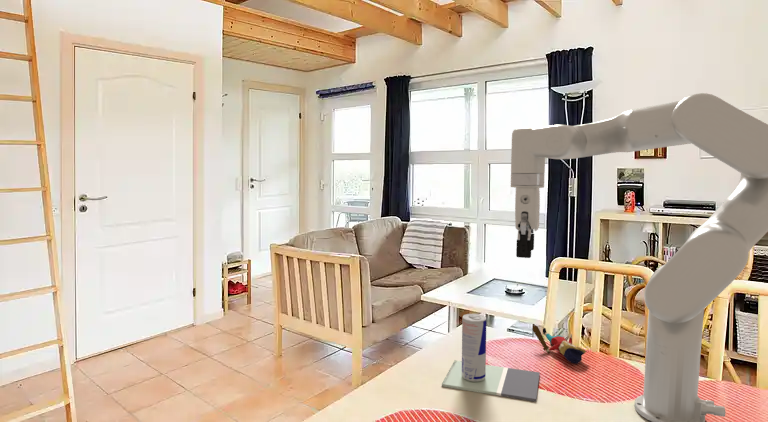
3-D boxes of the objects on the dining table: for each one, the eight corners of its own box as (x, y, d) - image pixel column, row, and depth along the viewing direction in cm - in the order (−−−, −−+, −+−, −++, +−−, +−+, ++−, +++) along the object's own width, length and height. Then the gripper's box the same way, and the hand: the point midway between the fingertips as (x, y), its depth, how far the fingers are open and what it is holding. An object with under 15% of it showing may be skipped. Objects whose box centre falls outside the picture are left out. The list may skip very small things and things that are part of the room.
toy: (560, 322, 139) (592, 344, 125) (557, 343, 140) (589, 367, 126) (530, 322, 137) (559, 344, 123) (527, 344, 138) (556, 368, 124)
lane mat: (539, 374, 120) (539, 372, 119) (536, 401, 106) (536, 399, 106) (454, 362, 127) (454, 360, 127) (441, 386, 114) (441, 383, 114)
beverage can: (485, 383, 113) (487, 321, 112) (461, 382, 114) (462, 320, 113) (485, 373, 119) (486, 313, 117) (461, 371, 120) (462, 312, 118)
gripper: (542, 183, 104) (540, 261, 106) (545, 179, 120) (543, 247, 122) (506, 182, 107) (504, 259, 109) (514, 179, 123) (512, 246, 125)
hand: (525, 253), depth 116 cm, fingers open, 9 cm apart
